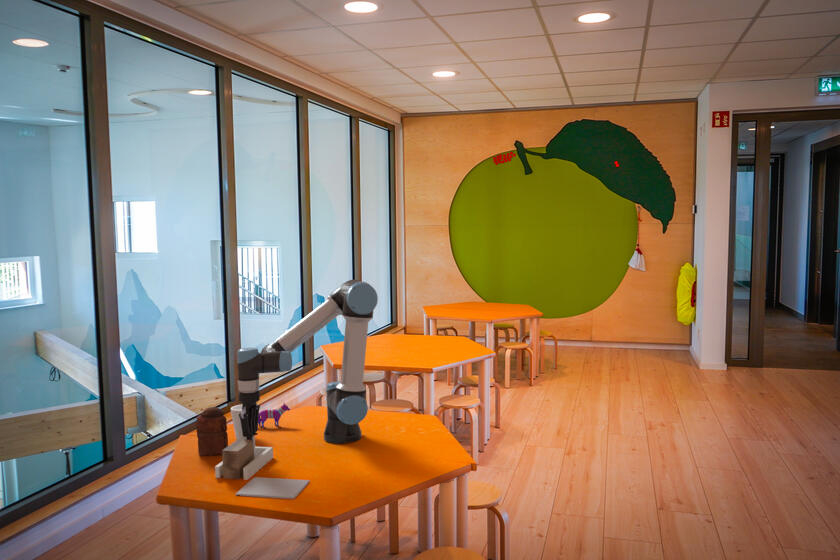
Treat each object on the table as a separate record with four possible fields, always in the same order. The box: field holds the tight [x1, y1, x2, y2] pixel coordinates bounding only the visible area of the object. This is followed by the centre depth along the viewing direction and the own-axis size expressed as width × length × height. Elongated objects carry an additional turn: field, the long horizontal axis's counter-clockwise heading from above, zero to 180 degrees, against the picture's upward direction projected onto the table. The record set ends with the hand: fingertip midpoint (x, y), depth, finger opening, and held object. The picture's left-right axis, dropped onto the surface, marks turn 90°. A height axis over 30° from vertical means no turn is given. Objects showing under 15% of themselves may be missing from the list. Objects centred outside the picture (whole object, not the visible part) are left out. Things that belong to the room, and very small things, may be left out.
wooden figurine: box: [195, 406, 229, 456], centre depth 260 cm, size 12×6×18 cm, turn 96°
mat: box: [235, 476, 311, 500], centre depth 225 cm, size 20×14×1 cm
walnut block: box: [221, 439, 255, 480], centre depth 240 cm, size 6×12×10 cm, turn 169°
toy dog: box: [258, 402, 291, 429], centre depth 291 cm, size 4×18×10 cm, turn 99°
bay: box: [214, 445, 274, 481], centre depth 245 cm, size 12×22×4 cm, turn 169°
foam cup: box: [230, 403, 246, 440], centre depth 277 cm, size 10×9×13 cm
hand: (251, 453), depth 250 cm, fingers closed
